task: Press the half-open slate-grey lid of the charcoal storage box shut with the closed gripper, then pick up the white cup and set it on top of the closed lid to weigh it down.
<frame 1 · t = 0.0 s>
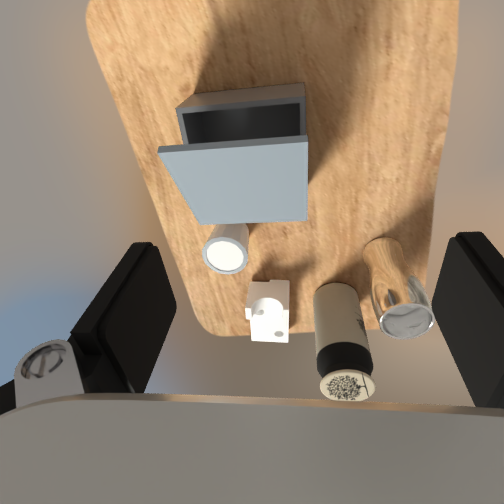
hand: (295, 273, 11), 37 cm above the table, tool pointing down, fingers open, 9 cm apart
travel mug: (335, 297, 61), on the table
silver metal tumbler: (381, 251, 54), on the table
bracket: (270, 303, 64), on the table
white cup: (232, 230, 55), on the table
storage box: (253, 143, 46), on the table
lid: (243, 188, 37), point 12 cm above the table, hinge at 30.0°
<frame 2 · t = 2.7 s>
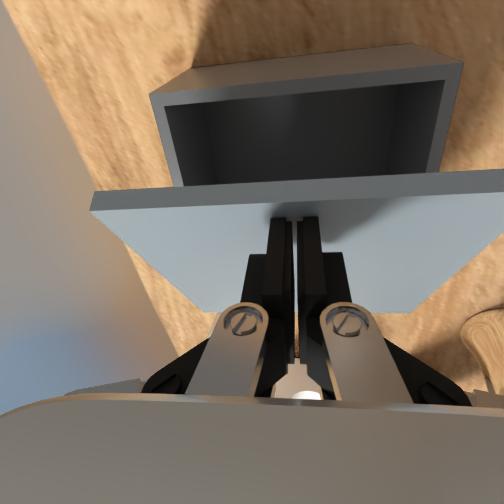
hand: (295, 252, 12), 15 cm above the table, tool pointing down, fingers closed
silver metal tumbler: (491, 327, 34), on the table
bracket: (305, 381, 44), on the table
storage box: (298, 161, 25), on the table
lid: (300, 270, 17), point 12 cm above the table, hinge at 29.0°, touching gripper
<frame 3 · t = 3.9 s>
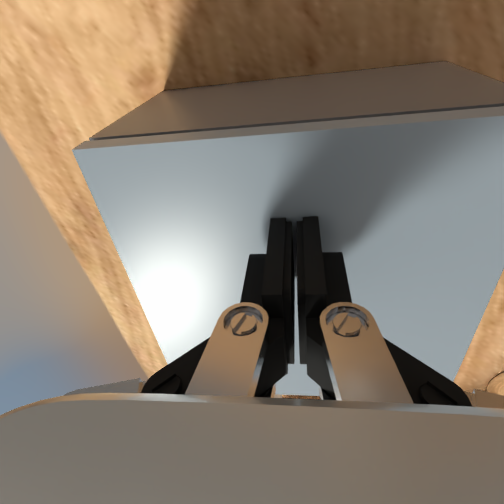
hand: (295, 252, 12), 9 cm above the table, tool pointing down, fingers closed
storage box: (299, 201, 21), on the table
lid: (300, 297, 14), point 9 cm above the table, hinge at 1.2°, touching gripper
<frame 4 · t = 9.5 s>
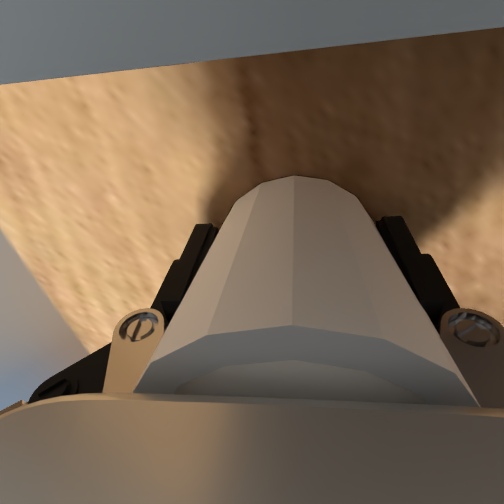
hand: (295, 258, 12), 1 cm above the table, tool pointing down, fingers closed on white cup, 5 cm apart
white cup: (295, 244, 12), on the table, touching gripper
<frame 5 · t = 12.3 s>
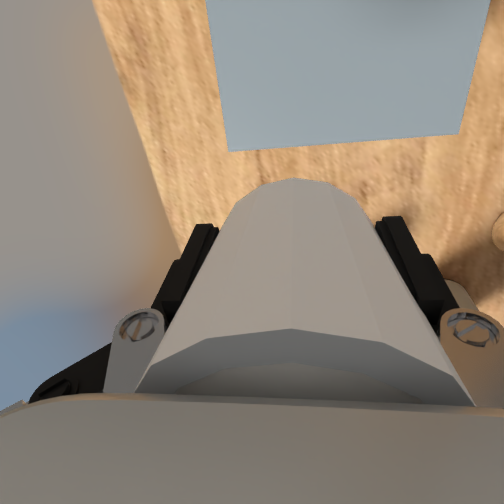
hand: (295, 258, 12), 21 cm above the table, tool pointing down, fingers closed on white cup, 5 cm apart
travel mug: (428, 302, 39), on the table
white cup: (295, 245, 12), point 20 cm above the table, touching gripper
lid: (342, 5, 17), point 9 cm above the table, hinge at 1.1°, touching storage box
when the fingers open (11 cm above the table, at t = 15.3 s): white cup moves 5 cm, point 14 cm above the table.
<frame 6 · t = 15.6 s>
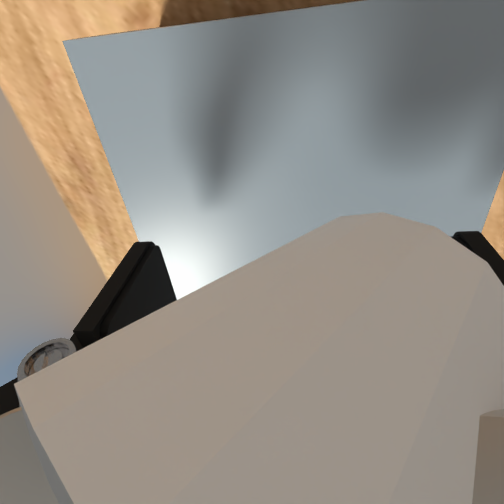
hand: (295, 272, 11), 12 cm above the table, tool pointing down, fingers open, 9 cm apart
white cup: (388, 311, 9), point 14 cm above the table, touching gripper
lid: (297, 218, 14), point 9 cm above the table, hinge at 1.1°
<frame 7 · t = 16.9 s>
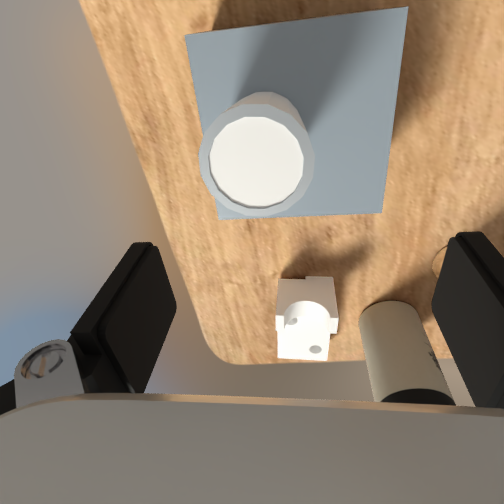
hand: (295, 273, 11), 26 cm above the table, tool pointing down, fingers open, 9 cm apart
travel mug: (387, 318, 47), on the table
bracket: (303, 309, 48), on the table
white cup: (264, 131, 25), point 9 cm above the table, touching lid
lid: (294, 133, 25), point 8 cm above the table, hinge at -0.1°, touching white cup, storage box
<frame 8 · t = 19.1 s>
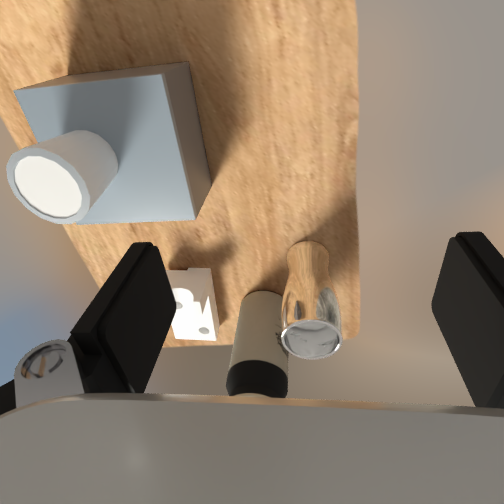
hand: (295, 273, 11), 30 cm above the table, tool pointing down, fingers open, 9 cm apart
travel mug: (265, 306, 55), on the table
silver metal tumbler: (307, 256, 48), on the table
bracket: (195, 296, 56), on the table
white cup: (91, 158, 33), point 9 cm above the table, touching lid
storage box: (145, 134, 40), on the table
lid: (114, 159, 33), point 8 cm above the table, hinge at -0.1°, touching white cup, storage box
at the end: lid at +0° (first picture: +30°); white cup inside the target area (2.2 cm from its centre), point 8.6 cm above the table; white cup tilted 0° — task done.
